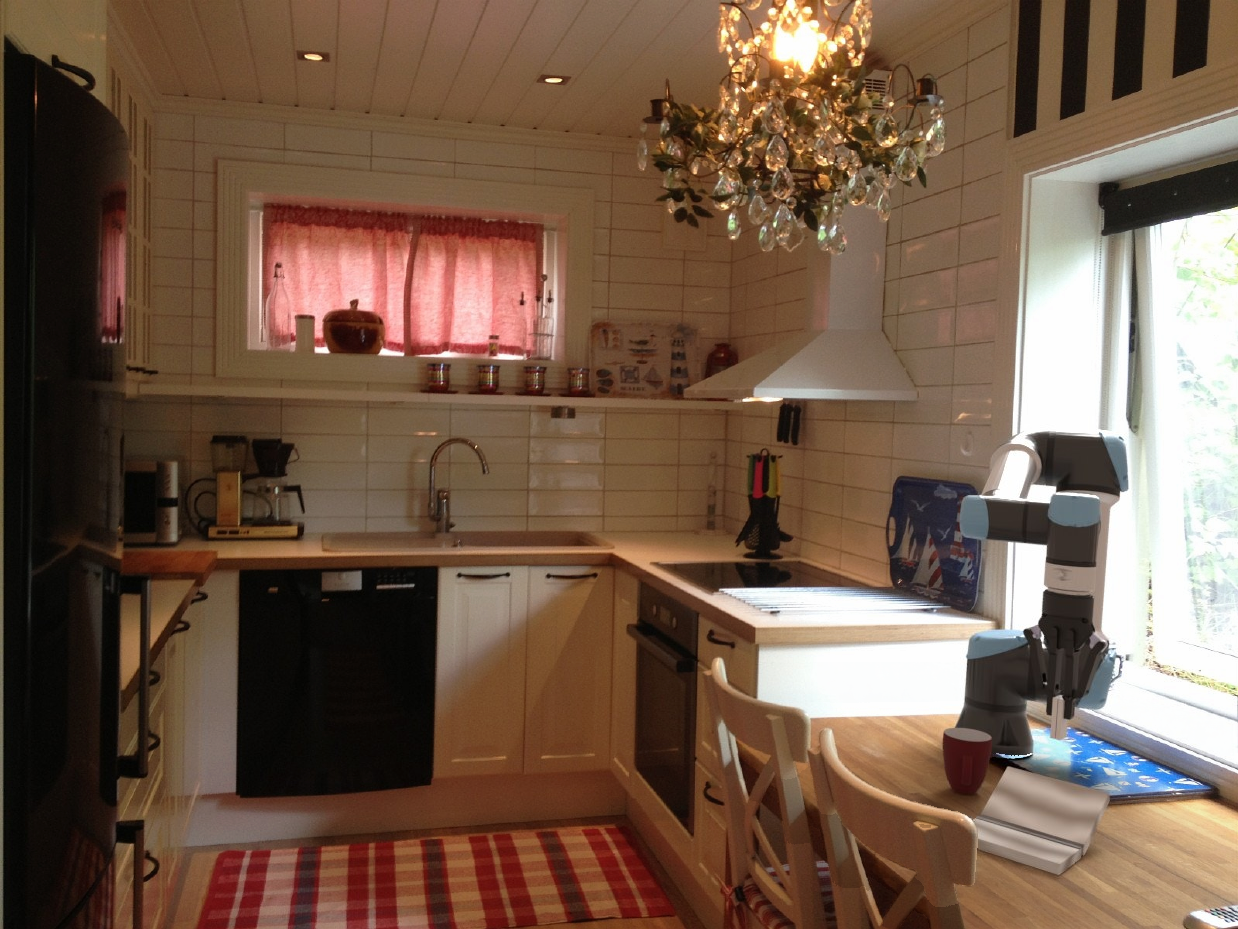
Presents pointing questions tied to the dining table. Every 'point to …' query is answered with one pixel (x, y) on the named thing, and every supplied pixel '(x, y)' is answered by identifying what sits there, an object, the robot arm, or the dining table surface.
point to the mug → (966, 758)
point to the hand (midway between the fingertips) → (1058, 737)
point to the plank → (1047, 807)
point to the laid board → (1026, 846)
